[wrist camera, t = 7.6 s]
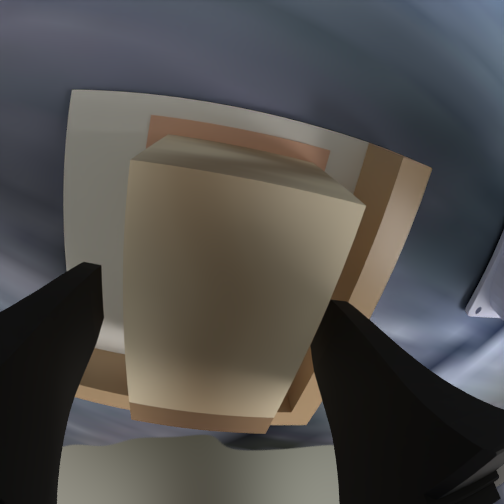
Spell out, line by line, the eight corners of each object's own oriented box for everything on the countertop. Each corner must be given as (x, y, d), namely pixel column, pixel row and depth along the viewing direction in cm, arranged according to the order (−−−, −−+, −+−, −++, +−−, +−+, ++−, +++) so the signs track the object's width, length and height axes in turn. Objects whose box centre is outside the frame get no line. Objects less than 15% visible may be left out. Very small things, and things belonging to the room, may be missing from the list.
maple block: (313, 162, 10) (365, 205, 7) (254, 352, 14) (265, 433, 10) (168, 134, 10) (130, 159, 6) (148, 338, 14) (131, 419, 10)
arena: (389, 149, 11) (432, 168, 8) (296, 381, 17) (306, 424, 14) (77, 89, 9) (35, 91, 6) (82, 352, 15) (66, 394, 12)
